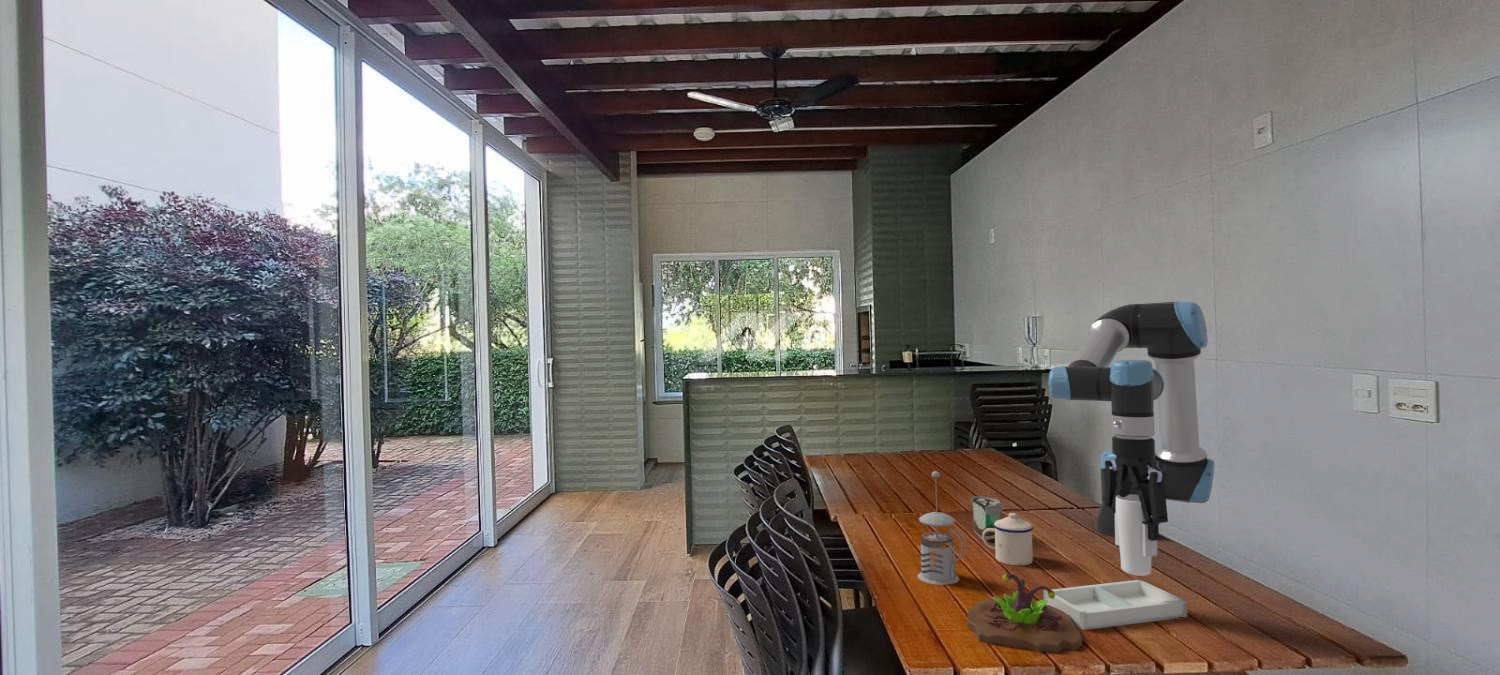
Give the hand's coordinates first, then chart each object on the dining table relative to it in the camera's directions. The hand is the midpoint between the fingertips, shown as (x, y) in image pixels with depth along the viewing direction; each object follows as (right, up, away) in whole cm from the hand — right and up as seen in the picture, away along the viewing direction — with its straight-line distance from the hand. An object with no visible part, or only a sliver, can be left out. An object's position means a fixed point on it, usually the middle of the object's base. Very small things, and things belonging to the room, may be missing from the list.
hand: (1135, 549), depth 135 cm
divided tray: (-5, -13, -1) cm, 13 cm away
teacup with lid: (-14, -13, +32) cm, 37 cm away
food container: (-11, -13, +51) cm, 54 cm away
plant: (-26, -14, -7) cm, 30 cm away
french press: (-34, -13, +20) cm, 41 cm away
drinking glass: (0, -5, 0) cm, 5 cm away
